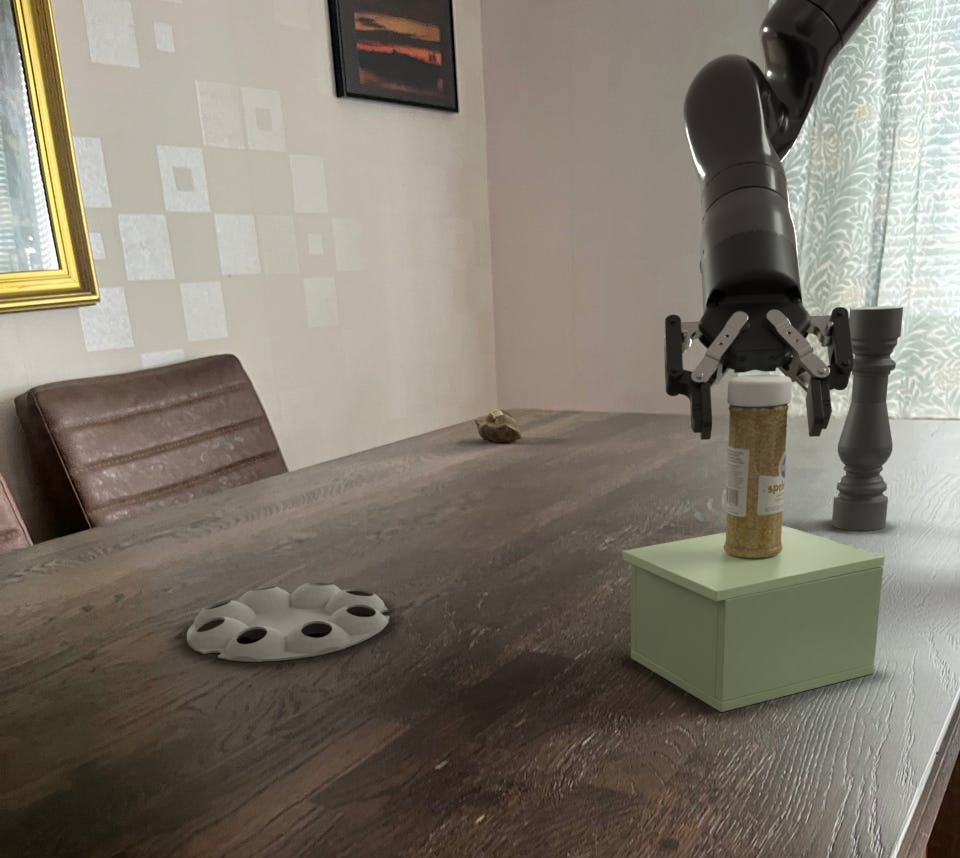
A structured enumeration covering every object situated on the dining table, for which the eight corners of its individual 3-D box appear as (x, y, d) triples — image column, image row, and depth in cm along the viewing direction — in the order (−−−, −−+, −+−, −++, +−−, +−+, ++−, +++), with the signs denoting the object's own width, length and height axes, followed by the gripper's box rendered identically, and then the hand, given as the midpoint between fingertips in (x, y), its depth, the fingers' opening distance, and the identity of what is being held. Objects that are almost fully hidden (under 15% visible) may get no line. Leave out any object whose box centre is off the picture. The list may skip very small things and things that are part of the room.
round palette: (424, 630, 94) (422, 610, 93) (219, 679, 85) (215, 657, 84) (344, 581, 110) (342, 564, 109) (164, 618, 101) (161, 599, 101)
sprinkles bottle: (785, 559, 76) (796, 379, 72) (724, 560, 77) (730, 381, 72) (778, 543, 80) (787, 372, 76) (720, 544, 81) (725, 374, 76)
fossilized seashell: (464, 427, 193) (487, 443, 185) (481, 397, 192) (505, 411, 184) (493, 443, 197) (517, 459, 190) (510, 413, 196) (534, 427, 188)
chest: (721, 712, 74) (725, 599, 71) (630, 658, 85) (630, 558, 82) (873, 673, 79) (883, 566, 76) (770, 627, 90) (775, 532, 87)
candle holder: (880, 532, 117) (900, 308, 108) (825, 528, 120) (841, 310, 112) (890, 520, 122) (910, 305, 113) (838, 516, 125) (854, 306, 116)
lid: (715, 601, 71) (716, 591, 70) (622, 560, 81) (622, 550, 81) (883, 566, 76) (884, 556, 76) (775, 531, 87) (775, 522, 87)
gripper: (660, 232, 78) (665, 404, 71) (851, 220, 76) (874, 396, 69) (657, 301, 85) (661, 463, 78) (832, 292, 83) (851, 458, 76)
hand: (761, 431), depth 74 cm, fingers open, 7 cm apart
